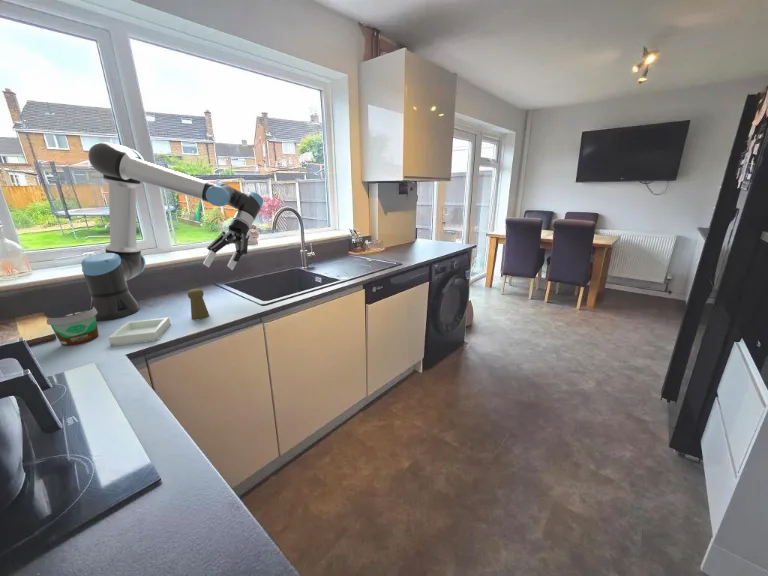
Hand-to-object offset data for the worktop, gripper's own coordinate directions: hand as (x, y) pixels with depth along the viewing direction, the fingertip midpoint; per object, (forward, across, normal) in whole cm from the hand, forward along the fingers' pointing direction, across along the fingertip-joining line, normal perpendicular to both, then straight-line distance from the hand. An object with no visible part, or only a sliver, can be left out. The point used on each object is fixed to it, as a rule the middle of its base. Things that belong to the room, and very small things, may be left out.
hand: (217, 266), depth 129 cm
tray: (+33, +4, +9) cm, 35 cm away
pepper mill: (+20, 0, -4) cm, 21 cm away
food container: (+41, +18, +17) cm, 47 cm away
